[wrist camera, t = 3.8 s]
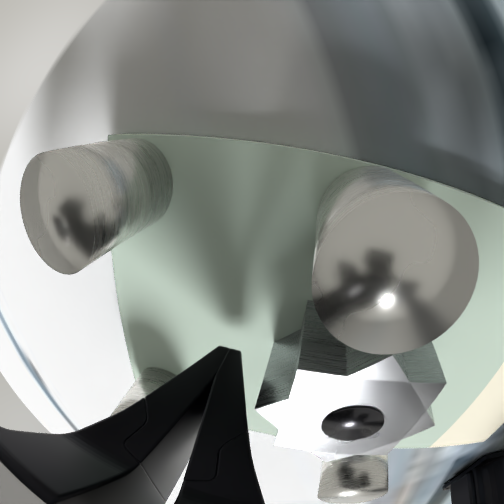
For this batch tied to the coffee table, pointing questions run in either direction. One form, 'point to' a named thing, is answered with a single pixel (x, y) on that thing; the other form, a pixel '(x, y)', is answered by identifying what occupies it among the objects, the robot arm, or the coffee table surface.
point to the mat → (285, 275)
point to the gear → (346, 393)
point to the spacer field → (324, 265)
